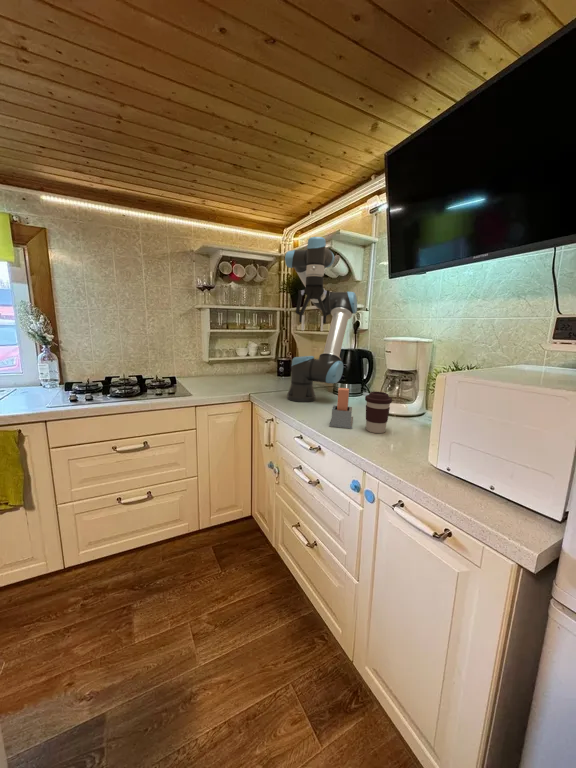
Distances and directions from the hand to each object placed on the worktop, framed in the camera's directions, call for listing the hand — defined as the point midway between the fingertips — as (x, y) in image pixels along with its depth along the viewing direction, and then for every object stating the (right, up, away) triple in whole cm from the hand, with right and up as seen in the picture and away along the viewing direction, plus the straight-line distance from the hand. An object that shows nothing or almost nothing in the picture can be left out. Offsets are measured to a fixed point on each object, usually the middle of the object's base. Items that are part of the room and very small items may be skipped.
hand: (312, 330), depth 140 cm
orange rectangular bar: (+11, -39, -10) cm, 42 cm away
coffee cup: (+24, -42, -15) cm, 50 cm away
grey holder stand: (+12, -39, -6) cm, 42 cm away
